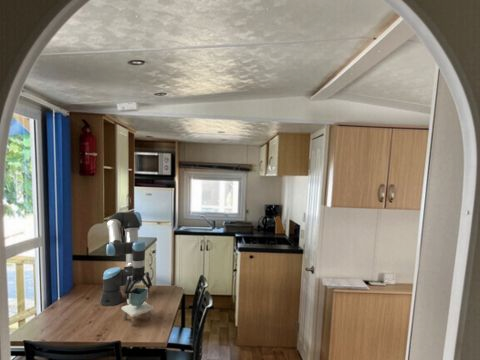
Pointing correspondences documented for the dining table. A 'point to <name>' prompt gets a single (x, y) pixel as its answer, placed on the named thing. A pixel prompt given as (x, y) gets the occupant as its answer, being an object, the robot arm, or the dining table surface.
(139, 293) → the flower pot
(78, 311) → the dining table surface
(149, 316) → the footstool
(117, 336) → the dining table surface
